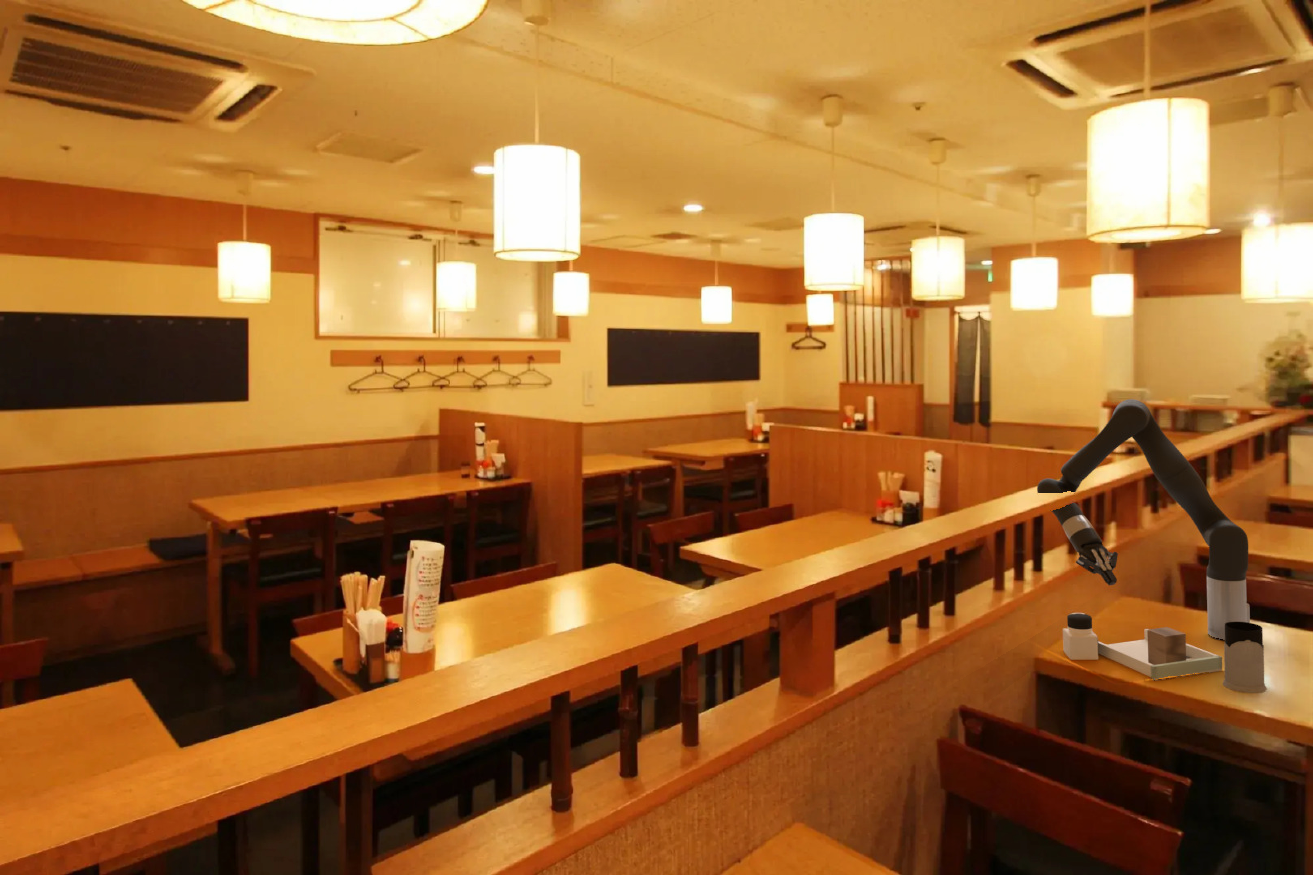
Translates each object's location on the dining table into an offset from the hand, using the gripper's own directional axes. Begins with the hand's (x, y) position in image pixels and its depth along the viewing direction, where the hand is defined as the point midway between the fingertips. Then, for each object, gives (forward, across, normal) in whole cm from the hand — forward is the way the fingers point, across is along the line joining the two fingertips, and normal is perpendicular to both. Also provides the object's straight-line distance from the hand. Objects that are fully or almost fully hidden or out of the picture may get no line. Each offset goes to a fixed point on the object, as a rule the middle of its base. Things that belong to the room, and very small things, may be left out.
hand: (1113, 583), depth 232 cm
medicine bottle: (+16, -15, +9) cm, 24 cm away
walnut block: (+26, -1, -2) cm, 26 cm away
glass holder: (+36, +8, -11) cm, 39 cm away
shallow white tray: (+22, 0, +3) cm, 22 cm away
